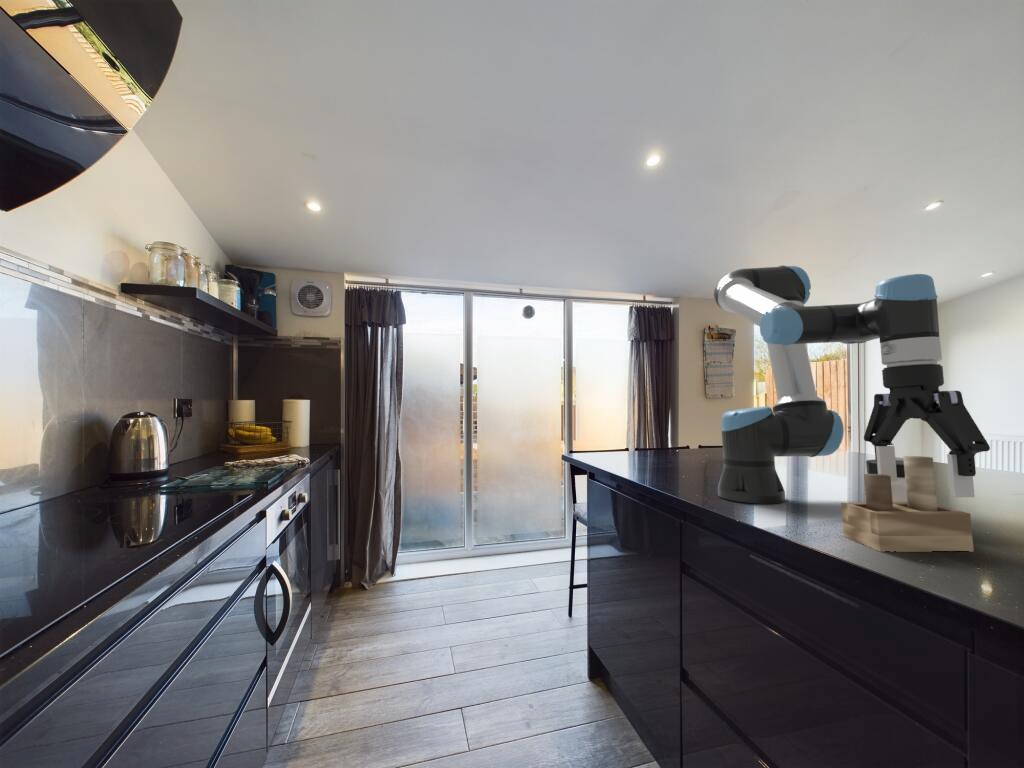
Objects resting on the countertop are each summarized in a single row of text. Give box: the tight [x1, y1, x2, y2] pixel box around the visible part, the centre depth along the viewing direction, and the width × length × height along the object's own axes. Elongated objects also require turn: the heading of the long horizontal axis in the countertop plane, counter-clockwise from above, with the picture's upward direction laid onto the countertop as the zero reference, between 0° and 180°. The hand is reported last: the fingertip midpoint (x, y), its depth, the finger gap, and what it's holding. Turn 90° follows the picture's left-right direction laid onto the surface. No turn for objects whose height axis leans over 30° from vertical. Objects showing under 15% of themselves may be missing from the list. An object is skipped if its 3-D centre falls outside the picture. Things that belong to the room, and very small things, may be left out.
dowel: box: [903, 455, 938, 511], centre depth 69 cm, size 4×4×12 cm
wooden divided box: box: [840, 501, 975, 553], centre depth 69 cm, size 8×14×6 cm, turn 86°
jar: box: [865, 459, 907, 502], centre depth 81 cm, size 9×8×12 cm
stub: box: [863, 473, 893, 512], centre depth 69 cm, size 3×3×9 cm
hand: (921, 488), depth 69 cm, fingers open, 13 cm apart
